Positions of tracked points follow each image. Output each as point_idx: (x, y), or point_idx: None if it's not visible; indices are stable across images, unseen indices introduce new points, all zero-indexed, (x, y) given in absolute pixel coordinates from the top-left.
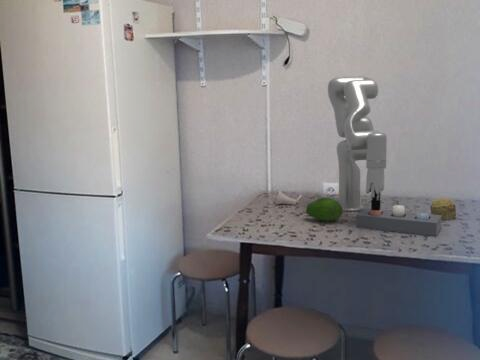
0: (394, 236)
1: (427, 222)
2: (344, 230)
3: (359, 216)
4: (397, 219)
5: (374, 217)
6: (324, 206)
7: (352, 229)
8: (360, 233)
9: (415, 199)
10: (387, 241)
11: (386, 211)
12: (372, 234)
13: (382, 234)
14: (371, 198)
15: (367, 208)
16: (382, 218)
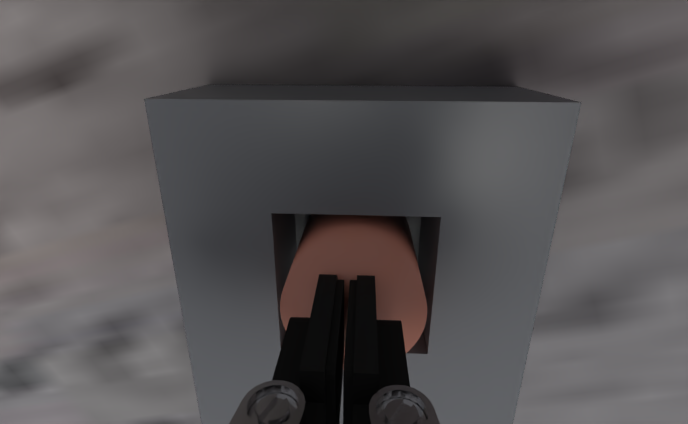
0: (137, 393)
1: None
2: (45, 10)
3: (159, 143)
4: None
5: (186, 309)
6: None
7: (122, 76)
8: (56, 180)
9: None
10: (14, 377)
11: (463, 372)
12: (91, 267)
13: (134, 325)
14: (234, 420)
15: (568, 141)
16: (197, 376)
